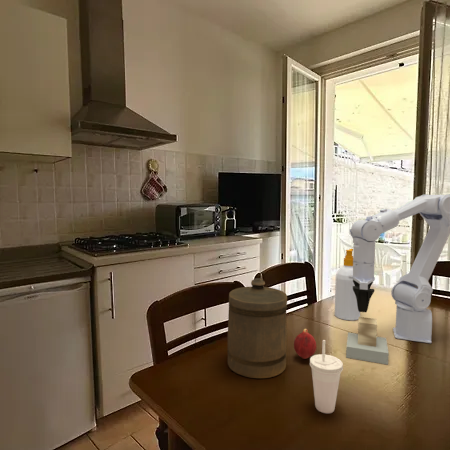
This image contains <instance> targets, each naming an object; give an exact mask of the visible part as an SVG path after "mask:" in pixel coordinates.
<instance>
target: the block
mask: <svg viewBox="0 0 450 450" xmlns="http://www.w3.org/2000/svg"><path fill="white" fill-rule="evenodd" d="M377 331H378V321H377V318H372V317H371V318H370V317H363V316H360V317H359V319H358V328H357V332H358V333H357V334H358V344H361V345H367V346H374V347H376V338H377V337H378V336H377V333H378V332H377Z"/></svg>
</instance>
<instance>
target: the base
mask: <svg viewBox="0 0 450 450" xmlns="http://www.w3.org/2000/svg"><path fill="white" fill-rule="evenodd" d="M345 348H346V351H345V352H346V353H345V354H346V356H345V358H346V359H347V358H348V359H353V360H357V361H359V360H360V361H365V362H371V363H376V364H381V365H389V347H388V341H387V337H381V336H377V338H376V347H374V346H367V345H361V344H358V333H354V332H347V340H346V347H345Z"/></svg>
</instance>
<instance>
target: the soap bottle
mask: <svg viewBox="0 0 450 450" xmlns="http://www.w3.org/2000/svg"><path fill="white" fill-rule="evenodd" d="M353 249H354V248H349V249H345V256H344V257H343V265H342V266H341V267H340V268H339V269H338V270H337V271H336V275H335V285H334V287H335V288H334V289H335V292H334V293H335V294H334V316H335V317H336V318H338V319H340V320H344V321H359V317H361V312H359V311H358V306H357V299H356V296H355V293H354V291H353V286H355V285H354V283H353V279H349V275H353Z"/></svg>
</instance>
